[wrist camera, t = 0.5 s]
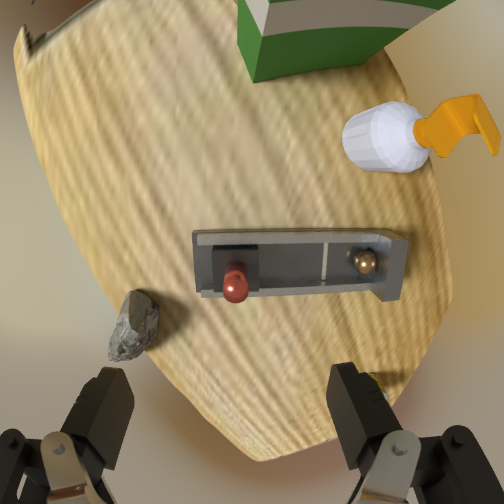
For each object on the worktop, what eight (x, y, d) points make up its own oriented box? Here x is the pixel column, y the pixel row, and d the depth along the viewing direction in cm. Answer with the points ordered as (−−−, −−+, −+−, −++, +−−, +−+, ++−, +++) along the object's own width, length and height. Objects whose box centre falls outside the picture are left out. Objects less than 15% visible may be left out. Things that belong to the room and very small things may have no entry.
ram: (213, 244, 38) (206, 268, 29) (257, 243, 38) (263, 266, 29) (215, 282, 39) (209, 314, 30) (257, 281, 40) (263, 313, 31)
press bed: (193, 230, 39) (183, 243, 32) (386, 228, 40) (411, 240, 33) (197, 288, 42) (190, 311, 34) (379, 280, 43) (401, 299, 36)
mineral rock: (124, 355, 45) (106, 390, 35) (91, 308, 42) (64, 338, 32) (179, 334, 44) (168, 372, 34) (145, 281, 41) (123, 311, 31)
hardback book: (343, 27, 31) (417, -52, 8) (360, 64, 33) (455, 0, 10) (237, 43, 31) (239, -69, 8) (252, 83, 33) (274, -19, 10)
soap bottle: (329, 138, 36) (441, 107, 13) (366, 102, 35) (481, 57, 11) (367, 182, 38) (493, 206, 15) (401, 146, 37) (525, 143, 13)
